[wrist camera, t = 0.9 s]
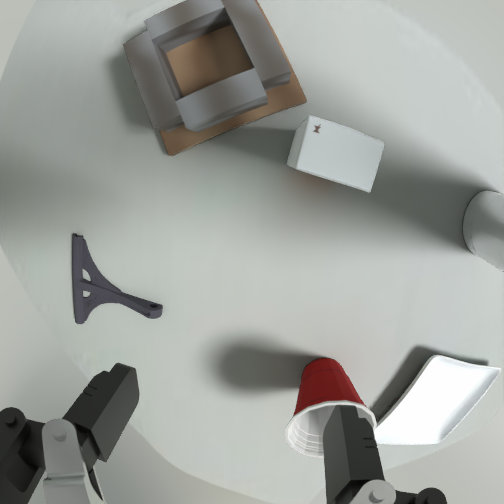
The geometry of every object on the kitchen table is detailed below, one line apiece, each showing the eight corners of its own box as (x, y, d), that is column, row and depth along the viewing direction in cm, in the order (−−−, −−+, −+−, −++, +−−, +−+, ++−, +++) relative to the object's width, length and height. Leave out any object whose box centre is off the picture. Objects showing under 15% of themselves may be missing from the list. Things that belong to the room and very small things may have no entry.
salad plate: (435, 434, 44) (440, 445, 41) (358, 430, 44) (362, 444, 40) (496, 359, 38) (504, 369, 34) (425, 341, 37) (434, 354, 34)
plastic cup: (314, 329, 37) (326, 393, 25) (372, 360, 38) (395, 419, 26) (268, 381, 40) (265, 445, 29) (325, 405, 41) (334, 465, 30)
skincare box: (285, 165, 31) (291, 168, 20) (295, 129, 30) (307, 111, 18) (337, 182, 31) (371, 194, 20) (348, 146, 30) (387, 140, 18)
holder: (252, -5, 25) (247, -29, 19) (305, 102, 29) (312, 91, 23) (132, 48, 27) (110, 33, 22) (172, 155, 31) (153, 155, 26)
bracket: (160, 347, 41) (154, 358, 38) (78, 317, 40) (69, 325, 38) (171, 258, 36) (163, 265, 33) (77, 231, 36) (66, 237, 33)
